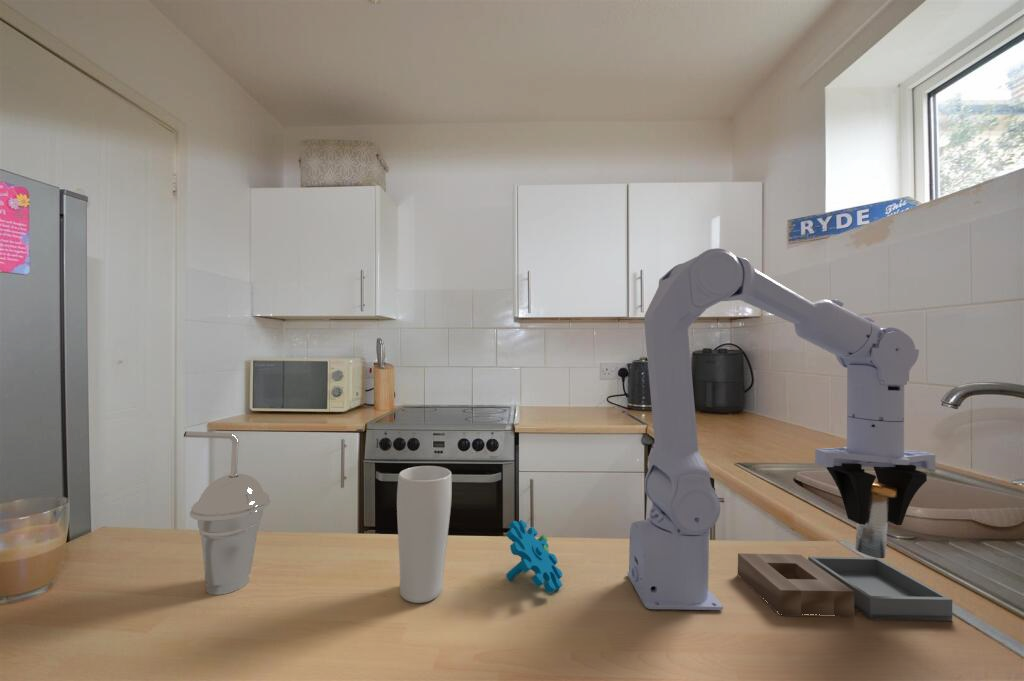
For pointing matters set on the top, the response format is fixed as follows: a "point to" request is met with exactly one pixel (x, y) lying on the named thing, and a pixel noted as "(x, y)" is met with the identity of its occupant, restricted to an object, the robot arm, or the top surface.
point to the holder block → (795, 585)
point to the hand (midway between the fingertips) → (874, 521)
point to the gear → (533, 557)
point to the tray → (886, 590)
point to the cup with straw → (228, 523)
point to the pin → (875, 521)
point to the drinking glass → (423, 530)
